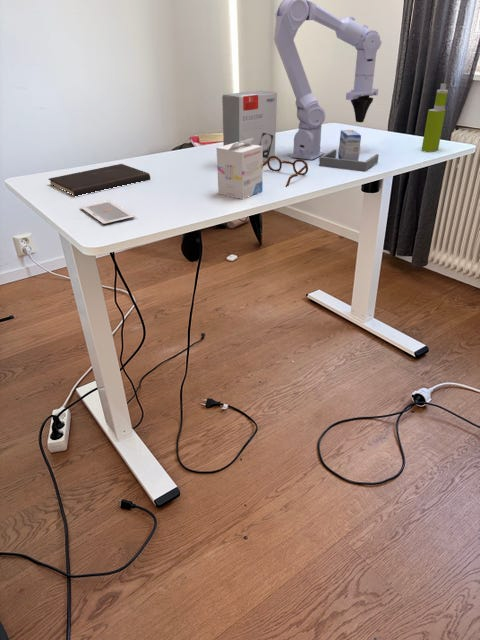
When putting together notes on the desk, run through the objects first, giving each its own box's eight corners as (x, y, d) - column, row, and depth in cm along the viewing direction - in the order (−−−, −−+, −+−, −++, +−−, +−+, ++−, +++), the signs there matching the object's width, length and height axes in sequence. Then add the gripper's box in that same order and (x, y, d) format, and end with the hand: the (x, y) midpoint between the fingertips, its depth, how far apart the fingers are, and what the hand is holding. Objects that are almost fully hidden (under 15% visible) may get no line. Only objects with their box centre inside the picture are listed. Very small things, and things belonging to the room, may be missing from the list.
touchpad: (110, 204, 122) (109, 195, 121) (136, 220, 111) (135, 211, 110) (80, 210, 118) (78, 202, 117) (104, 228, 108) (102, 219, 106)
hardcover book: (50, 186, 136) (48, 178, 135) (122, 171, 149) (121, 163, 148) (75, 199, 126) (73, 190, 125) (150, 181, 139) (149, 173, 138)
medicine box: (337, 158, 156) (340, 130, 151) (351, 158, 156) (354, 129, 151) (344, 164, 149) (346, 135, 144) (358, 164, 149) (361, 134, 145)
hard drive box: (238, 168, 147) (237, 96, 137) (222, 164, 152) (220, 94, 142) (276, 160, 155) (277, 91, 145) (260, 156, 160) (260, 89, 150)
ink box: (238, 186, 132) (237, 134, 125) (263, 191, 127) (263, 137, 120) (217, 194, 126) (215, 140, 119) (242, 200, 121) (241, 144, 114)
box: (365, 171, 142) (366, 162, 140) (319, 165, 148) (319, 157, 147) (377, 162, 150) (378, 154, 149) (333, 157, 157) (333, 149, 155)
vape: (440, 149, 163) (452, 83, 153) (429, 152, 160) (441, 85, 150) (430, 147, 166) (442, 83, 155) (419, 150, 163) (430, 84, 152)
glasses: (308, 177, 140) (309, 159, 137) (286, 188, 130) (287, 170, 128) (268, 171, 146) (268, 154, 143) (245, 182, 136) (245, 164, 134)
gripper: (367, 72, 157) (362, 117, 164) (339, 76, 149) (335, 123, 156) (386, 73, 153) (380, 119, 160) (358, 77, 144) (354, 126, 152)
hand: (359, 121), depth 158 cm, fingers closed
